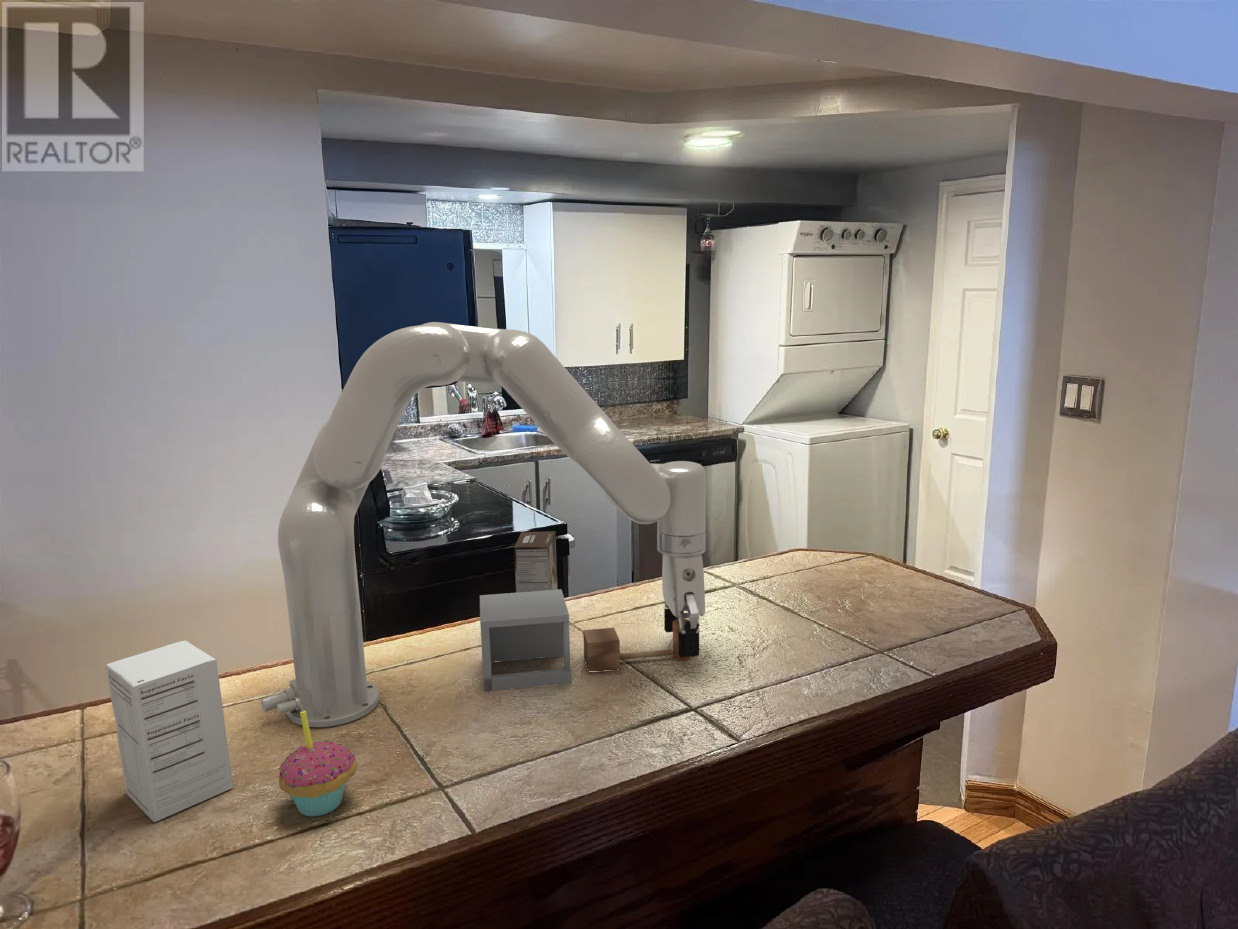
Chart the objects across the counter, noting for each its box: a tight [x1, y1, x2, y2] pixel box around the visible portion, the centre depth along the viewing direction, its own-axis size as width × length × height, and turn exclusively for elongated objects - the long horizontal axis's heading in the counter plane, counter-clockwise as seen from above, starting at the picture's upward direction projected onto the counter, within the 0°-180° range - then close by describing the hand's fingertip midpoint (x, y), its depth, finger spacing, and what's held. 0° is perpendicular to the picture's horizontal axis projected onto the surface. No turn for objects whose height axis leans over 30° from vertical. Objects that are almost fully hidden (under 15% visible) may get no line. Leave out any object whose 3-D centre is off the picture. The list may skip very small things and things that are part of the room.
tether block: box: [582, 618, 691, 672], centre depth 132 cm, size 17×5×6 cm, turn 100°
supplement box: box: [105, 640, 234, 823], centre depth 98 cm, size 10×9×17 cm
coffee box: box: [513, 530, 558, 593], centre depth 146 cm, size 9×6×16 cm
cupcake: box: [278, 705, 358, 817], centre depth 96 cm, size 9×8×12 cm
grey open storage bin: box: [479, 588, 572, 692], centre depth 129 cm, size 13×11×11 cm
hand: (681, 643), depth 133 cm, fingers open, 9 cm apart
